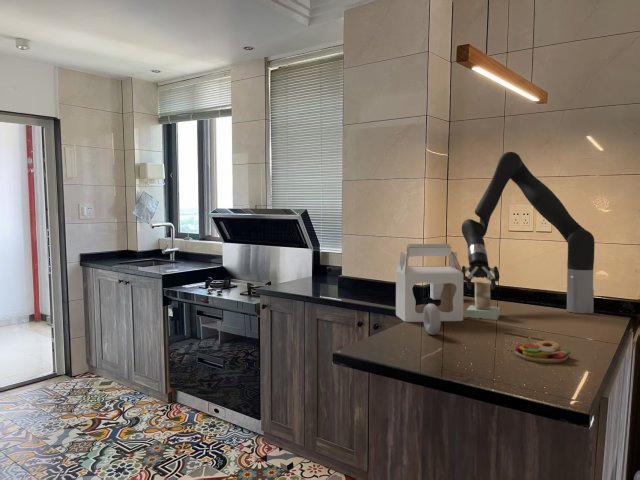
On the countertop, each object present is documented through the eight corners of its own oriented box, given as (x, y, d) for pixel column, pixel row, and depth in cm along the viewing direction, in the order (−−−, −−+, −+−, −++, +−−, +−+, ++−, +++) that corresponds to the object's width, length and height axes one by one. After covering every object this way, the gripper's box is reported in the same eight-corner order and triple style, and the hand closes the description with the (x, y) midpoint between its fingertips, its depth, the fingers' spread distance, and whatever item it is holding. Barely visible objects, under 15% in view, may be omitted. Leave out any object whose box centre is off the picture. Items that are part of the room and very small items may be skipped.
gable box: (404, 322, 171) (404, 244, 170) (395, 315, 184) (395, 243, 183) (463, 321, 173) (464, 244, 172) (450, 314, 186) (451, 243, 185)
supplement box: (452, 299, 223) (452, 268, 222) (432, 299, 223) (433, 268, 222) (447, 297, 232) (447, 266, 231) (428, 297, 232) (429, 266, 231)
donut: (421, 331, 156) (421, 301, 156) (431, 331, 156) (431, 300, 156) (431, 338, 146) (431, 306, 146) (442, 338, 147) (442, 306, 146)
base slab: (499, 316, 185) (499, 307, 185) (496, 321, 175) (496, 311, 175) (470, 313, 190) (470, 305, 190) (466, 318, 180) (466, 309, 180)
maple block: (488, 307, 184) (488, 281, 184) (490, 309, 180) (490, 282, 180) (474, 307, 185) (474, 281, 185) (476, 308, 181) (476, 282, 181)
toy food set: (553, 351, 133) (553, 339, 133) (581, 364, 119) (581, 352, 119) (506, 351, 132) (506, 339, 132) (528, 365, 119) (529, 352, 119)
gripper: (460, 251, 196) (464, 281, 185) (496, 251, 194) (502, 282, 183) (459, 262, 201) (462, 293, 191) (494, 263, 199) (499, 294, 188)
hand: (481, 288), depth 187 cm, fingers open, 8 cm apart
